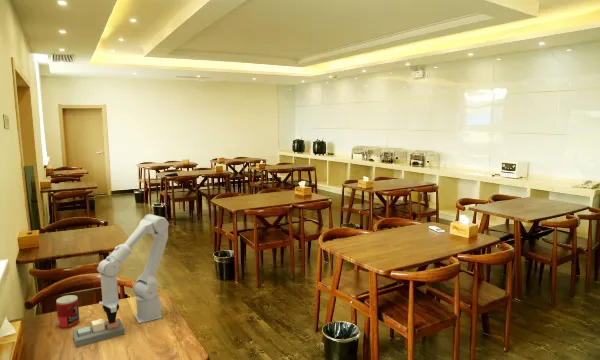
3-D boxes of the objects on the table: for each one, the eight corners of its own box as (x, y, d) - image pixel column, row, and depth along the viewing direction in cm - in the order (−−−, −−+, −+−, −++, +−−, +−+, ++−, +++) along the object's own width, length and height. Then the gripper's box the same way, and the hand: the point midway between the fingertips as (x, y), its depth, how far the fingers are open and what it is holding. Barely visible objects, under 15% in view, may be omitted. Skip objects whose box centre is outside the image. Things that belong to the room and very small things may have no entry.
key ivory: (103, 325, 164) (102, 318, 164) (104, 329, 161) (104, 322, 160) (92, 328, 162) (91, 321, 161) (93, 332, 159) (92, 325, 158)
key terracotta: (117, 325, 167) (116, 318, 167) (118, 330, 164) (118, 323, 163) (106, 328, 165) (105, 321, 164) (107, 333, 162) (107, 325, 161)
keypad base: (119, 323, 170) (119, 318, 170) (124, 334, 162) (124, 328, 162) (73, 335, 161) (72, 329, 161) (75, 347, 153) (75, 341, 153)
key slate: (89, 333, 162) (89, 326, 161) (90, 337, 158) (90, 330, 158) (78, 336, 159) (77, 329, 159) (79, 341, 156) (78, 333, 156)
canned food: (70, 329, 166) (68, 303, 164) (53, 327, 168) (51, 302, 166) (84, 320, 173) (82, 295, 172) (67, 318, 175) (65, 294, 173)
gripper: (95, 285, 166) (98, 317, 168) (101, 299, 154) (103, 333, 156) (114, 282, 169) (116, 313, 171) (121, 294, 157) (123, 327, 159)
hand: (112, 322), depth 164 cm, fingers closed, pressing on key terracotta
